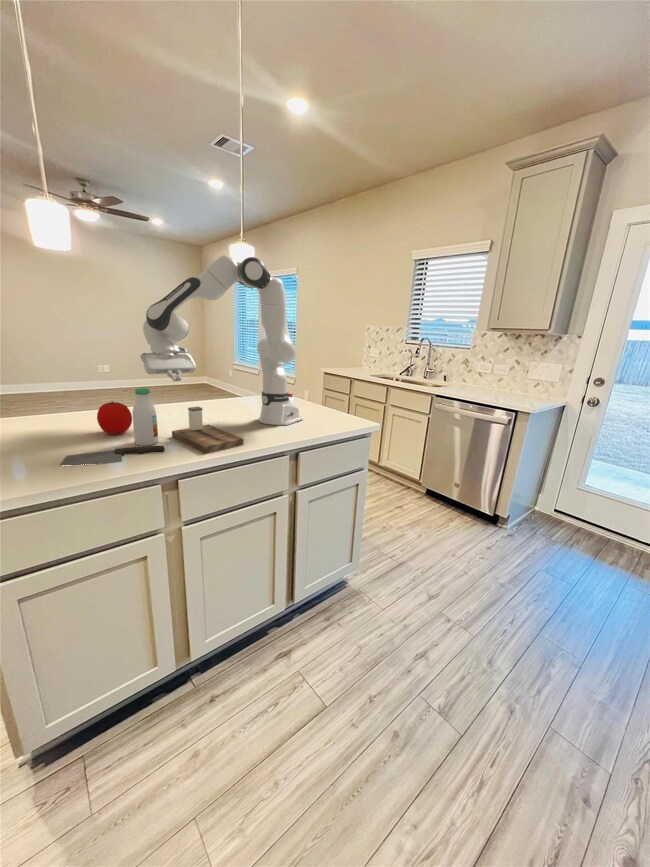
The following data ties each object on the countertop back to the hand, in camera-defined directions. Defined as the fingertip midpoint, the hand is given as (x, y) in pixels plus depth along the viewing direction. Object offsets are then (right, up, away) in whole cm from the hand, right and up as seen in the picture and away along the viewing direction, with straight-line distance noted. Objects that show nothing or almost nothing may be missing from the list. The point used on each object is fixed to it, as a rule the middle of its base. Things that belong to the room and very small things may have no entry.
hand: (177, 380), depth 143 cm
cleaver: (-9, -30, -27) cm, 41 cm away
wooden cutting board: (+14, -24, -7) cm, 29 cm away
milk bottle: (-6, -25, -13) cm, 29 cm away
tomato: (-22, -22, -5) cm, 31 cm away
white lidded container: (+8, -20, -3) cm, 21 cm away
